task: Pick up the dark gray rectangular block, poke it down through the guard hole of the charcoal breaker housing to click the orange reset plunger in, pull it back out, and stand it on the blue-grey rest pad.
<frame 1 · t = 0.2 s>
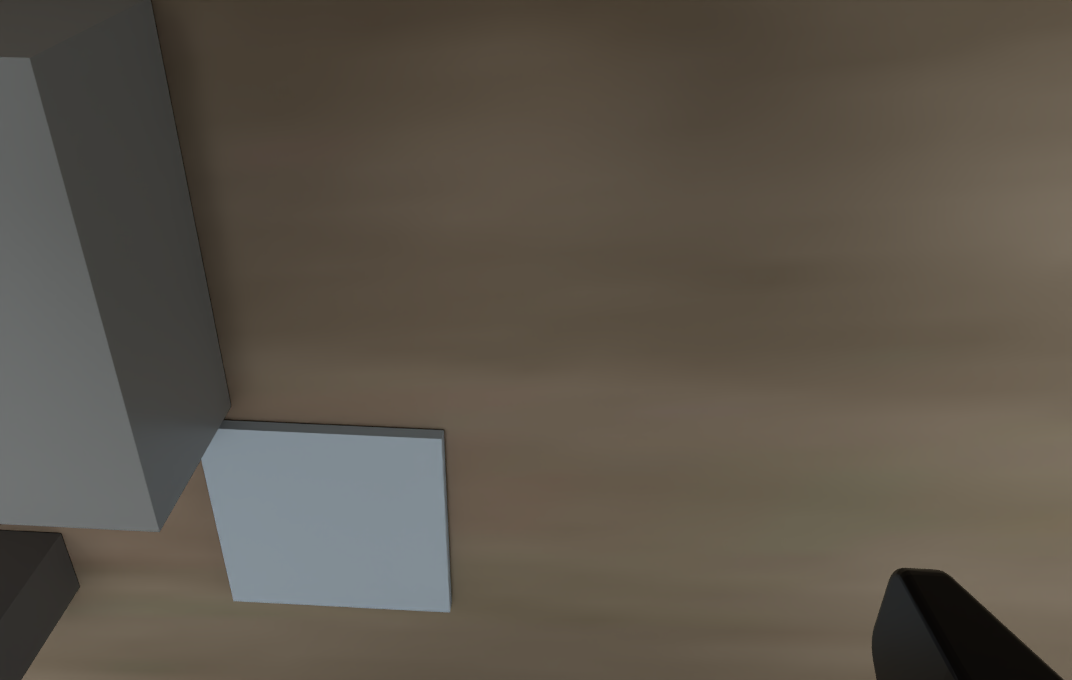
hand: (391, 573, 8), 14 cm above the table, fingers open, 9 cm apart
rest pad: (333, 516, 28), on the table
dark gray rectangular block: (34, 558, 29), on the table
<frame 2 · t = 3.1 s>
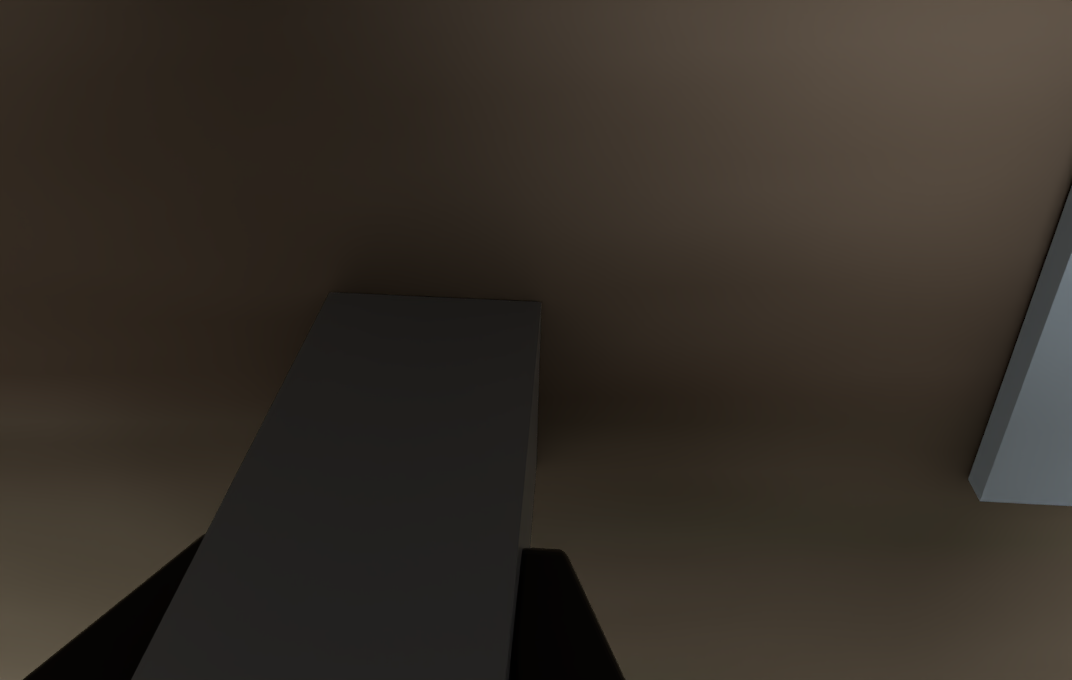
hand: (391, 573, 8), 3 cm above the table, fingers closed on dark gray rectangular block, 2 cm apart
dark gray rectangular block: (438, 384, 11), on the table, touching gripper
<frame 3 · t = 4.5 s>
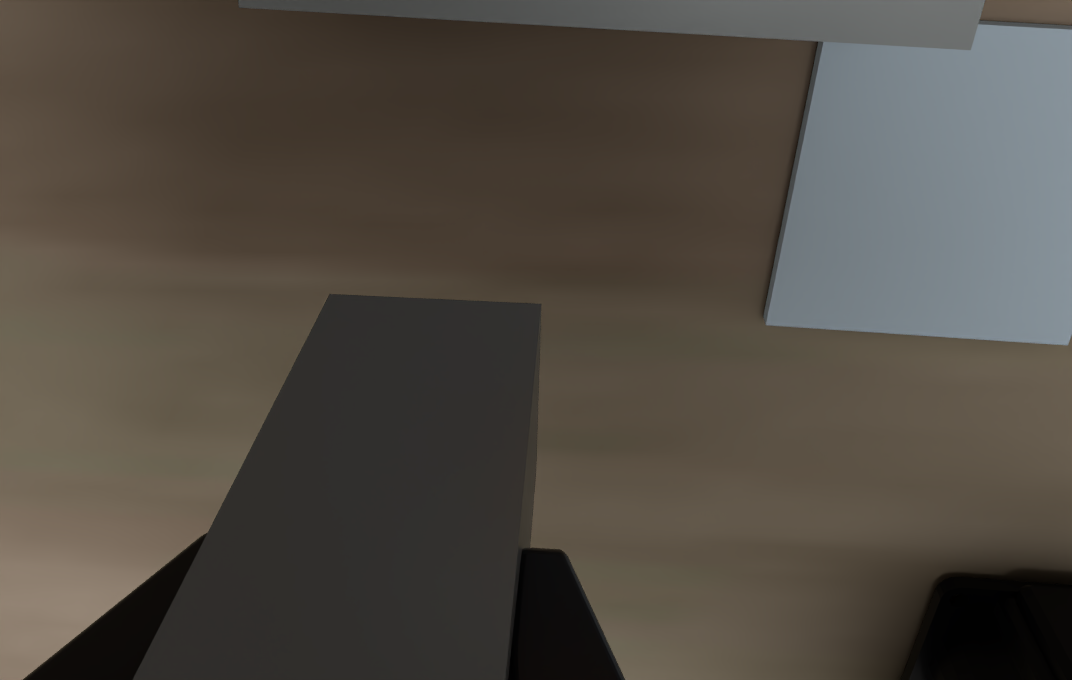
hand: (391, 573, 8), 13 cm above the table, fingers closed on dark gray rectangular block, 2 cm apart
rest pad: (952, 188, 20), on the table
dark gray rectangular block: (438, 386, 11), point 10 cm above the table, touching gripper
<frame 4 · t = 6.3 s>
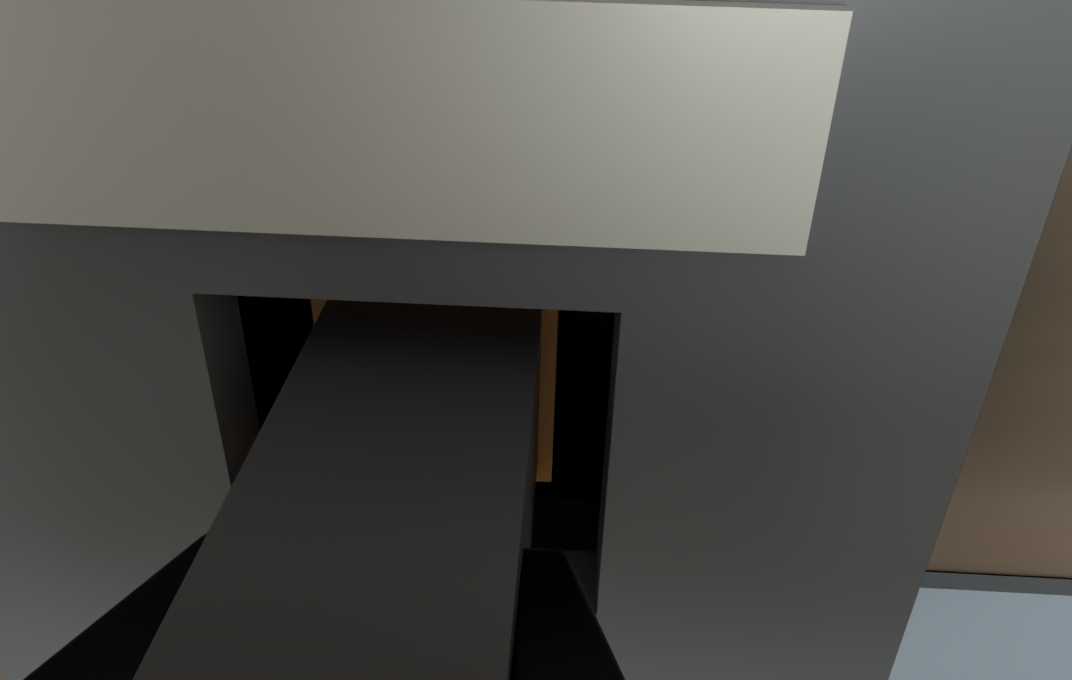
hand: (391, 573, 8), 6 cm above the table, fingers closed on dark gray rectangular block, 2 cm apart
breaker housing: (470, 257, 14), on the table
reset plunger: (453, 321, 12), point 2 cm above the table, slide at 2.1 cm, touching dark gray rectangular block
dark gray rectangular block: (438, 388, 11), point 3 cm above the table, touching gripper, reset plunger
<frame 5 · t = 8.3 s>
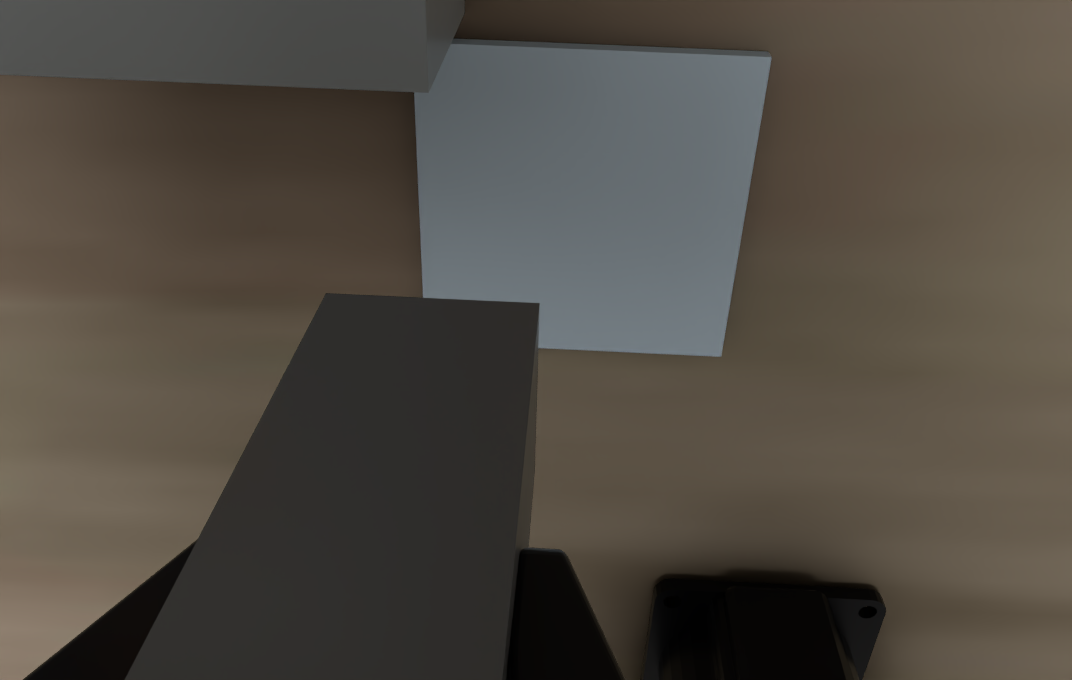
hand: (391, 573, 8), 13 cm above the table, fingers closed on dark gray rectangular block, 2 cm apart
rest pad: (580, 206, 20), on the table
dark gray rectangular block: (436, 386, 11), point 10 cm above the table, touching gripper
when the fingers open (4 cm above the table, at t = 10.3 s): dark gray rectangular block drops 1 cm, resting on rest pad.
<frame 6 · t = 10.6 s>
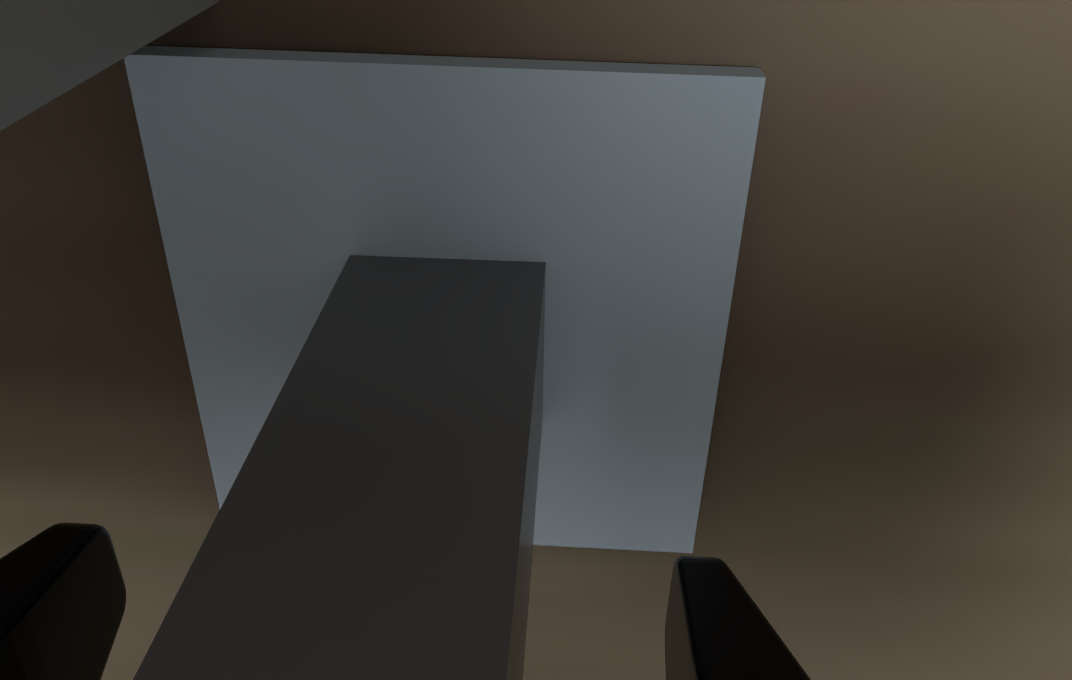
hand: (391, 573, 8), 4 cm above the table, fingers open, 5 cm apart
rest pad: (453, 324, 12), on the table
dark gray rectangular block: (450, 342, 12), resting on rest pad
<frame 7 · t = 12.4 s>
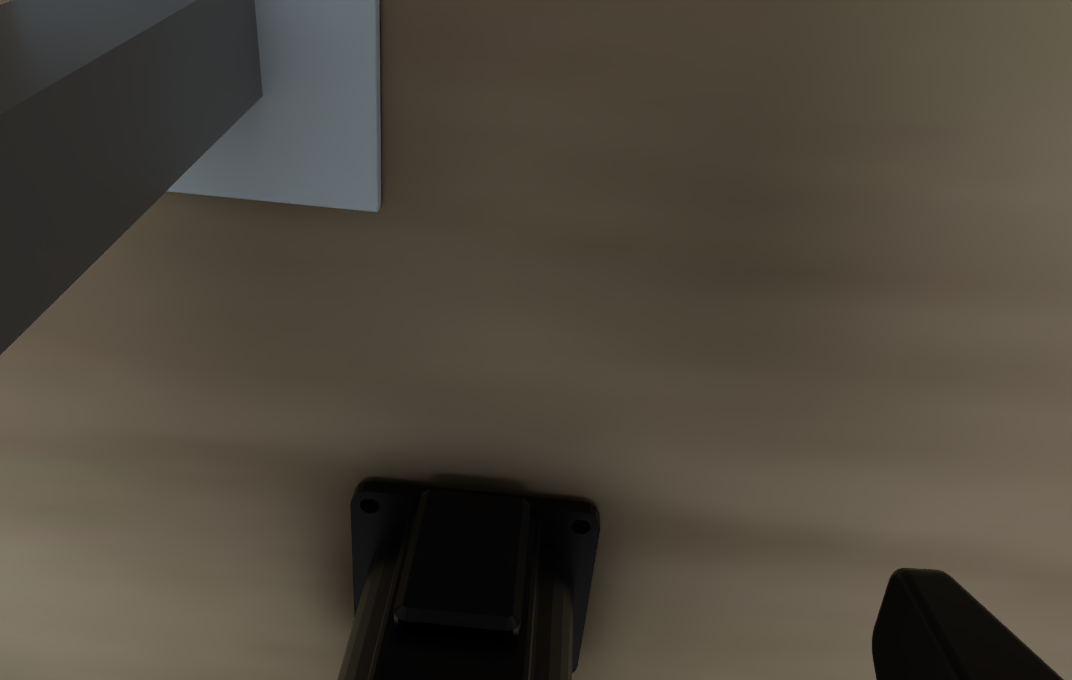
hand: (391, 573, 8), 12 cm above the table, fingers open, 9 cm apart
rest pad: (202, 22, 18), on the table
dark gray rectangular block: (195, 28, 17), resting on rest pad
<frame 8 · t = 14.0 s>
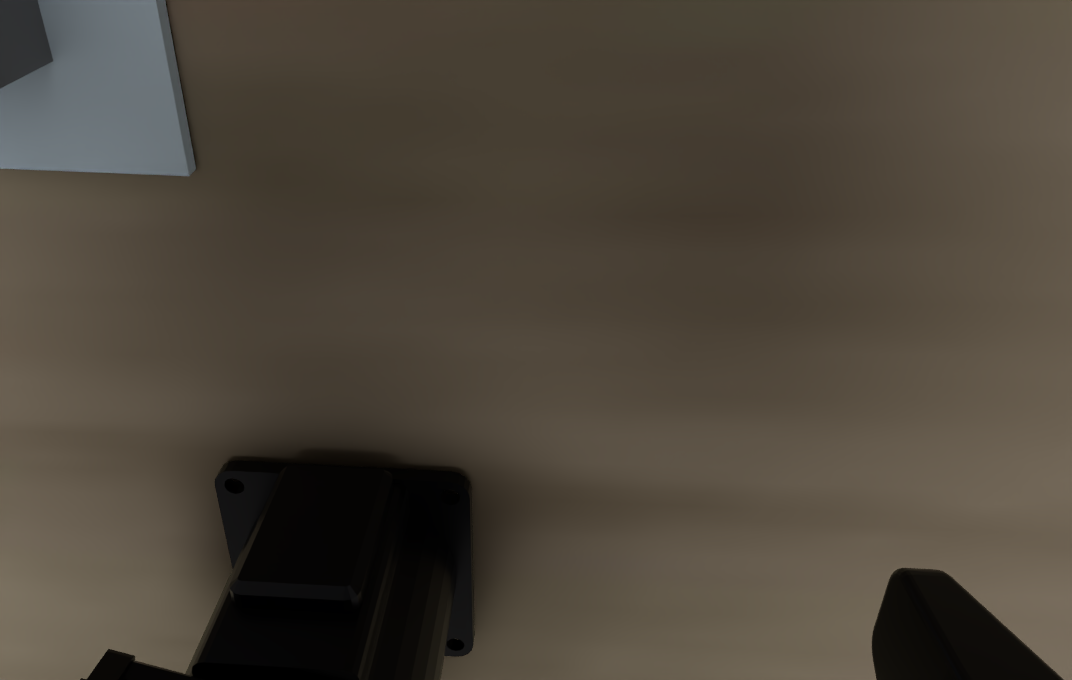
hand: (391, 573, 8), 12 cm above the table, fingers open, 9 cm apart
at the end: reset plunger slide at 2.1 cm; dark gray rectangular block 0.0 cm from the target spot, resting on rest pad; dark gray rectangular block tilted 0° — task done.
